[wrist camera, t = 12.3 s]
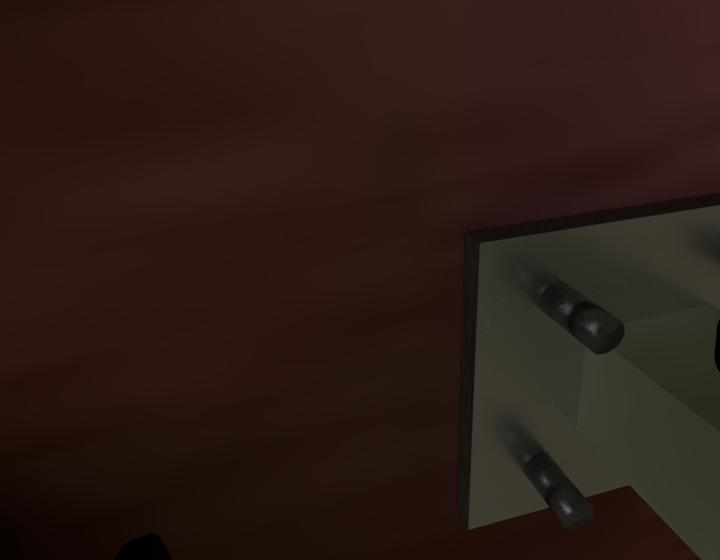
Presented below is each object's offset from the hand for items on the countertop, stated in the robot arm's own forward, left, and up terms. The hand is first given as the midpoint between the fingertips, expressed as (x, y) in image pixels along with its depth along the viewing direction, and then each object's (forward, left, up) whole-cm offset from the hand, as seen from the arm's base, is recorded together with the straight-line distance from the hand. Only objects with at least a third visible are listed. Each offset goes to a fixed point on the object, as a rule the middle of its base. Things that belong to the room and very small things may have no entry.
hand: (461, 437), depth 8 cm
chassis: (+12, -11, -12) cm, 20 cm away
